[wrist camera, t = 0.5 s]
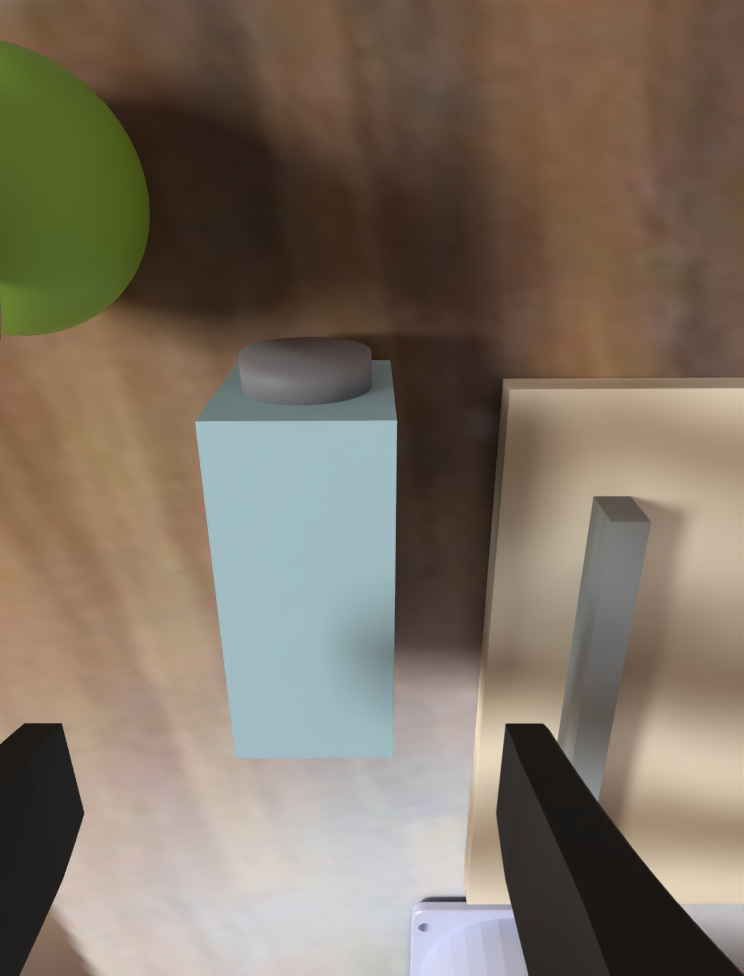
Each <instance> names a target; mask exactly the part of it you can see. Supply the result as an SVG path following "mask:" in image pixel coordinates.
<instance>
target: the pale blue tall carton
mask: <svg viewBox="0 0 744 976" xmlns="http://www.w3.org/2000/svg"><path fill="white" fill-rule="evenodd" d="M238 357H239V361H238V363H237V364H236V365H235V367H234V368H233V369H232V371H231V372H230V374H229V375H228V376H227V378H226V379H225V381H224V382H223V383H222V385H221V386H220V388H219V389H218V390H217V392H216V393H215V394H214V396H213V397H212V399H211V400H210V401H209V403H208V404H207V406H206V407H205V408H204V410H203V411H202V413H201V414H200V415H199V417H198V418H197V419H196V421H195V425H196V433H197V442H198V450H199V458H200V467H201V475H202V483H203V492H204V500H205V508H206V516H207V525H208V533H209V541H210V550H211V558H212V566H213V575H214V583H215V591H216V600H217V608H218V616H219V625H220V633H221V641H222V649H223V658H224V666H225V674H226V683H227V691H228V699H229V708H230V716H231V724H232V733H233V741H234V749H235V758H329V757H393V717H394V632H395V547H396V462H397V416H396V407H395V398H394V388H393V379H392V370H391V361H390V360H371V349H370V347H368V346H367V345H365V344H362V343H359V342H356V341H351V340H346V339H338V338H326V337H298V338H284V339H276V340H269V341H264V342H259V343H256V344H252V345H249V346H247V347H245V348H243V349H241V350H240V351H239V353H238Z"/></svg>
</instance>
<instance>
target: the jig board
mask: <svg viewBox="0 0 744 976" xmlns="http://www.w3.org/2000/svg"><path fill="white" fill-rule="evenodd" d="M506 723H543V724H544V725H545V726H546V727H548V728H549V730H550V731H551V733H552V734H553V736H554V738H555V739H556V741H557V742H558V744H559V745H560V747H561V749H562V750H563V752H564V753H565V755H566V756H567V758H568V759H569V761H570V762H571V764H572V765H573V767H574V768H575V770H576V771H577V773H578V774H579V776H580V777H581V778H582V780H583V781H584V783H585V784H586V786H587V787H588V788H589V790H590V791H591V793H592V794H593V796H594V797H595V798H596V800H597V801H598V802H599V804H600V805H601V807H602V808H603V809H604V811H605V812H606V813H607V815H608V816H609V817H610V819H611V820H612V821H613V823H614V824H615V825H616V827H617V828H618V829H619V831H620V832H621V833H622V834H623V836H624V837H625V838H626V840H627V841H628V842H629V844H630V845H631V846H632V848H633V849H634V850H635V851H636V853H637V854H638V855H639V856H640V858H641V859H642V860H643V861H644V863H645V864H646V865H647V866H648V868H649V869H650V870H651V871H652V873H653V874H654V875H655V876H656V877H657V879H658V880H659V881H660V882H661V883H662V884H663V886H664V887H665V888H666V889H667V890H668V892H669V893H670V894H671V895H672V896H673V898H674V899H675V900H676V901H677V902H678V903H679V904H744V378H539V379H503V386H502V399H501V412H500V425H499V437H498V450H497V463H496V475H495V488H494V501H493V513H492V526H491V539H490V552H489V564H488V577H487V590H486V602H485V615H484V628H483V640H482V653H481V666H480V678H479V691H478V704H477V717H476V729H475V742H474V755H473V767H472V780H471V793H470V805H469V818H468V831H467V844H466V856H465V869H464V886H465V893H466V901H467V904H511V902H510V898H509V894H508V889H507V885H506V881H505V875H504V868H503V861H502V855H501V848H500V840H499V833H498V825H497V818H496V808H497V798H498V789H499V780H500V770H501V761H502V752H503V742H504V733H505V724H506Z"/></svg>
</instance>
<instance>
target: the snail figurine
mask: <svg viewBox="0 0 744 976" xmlns="http://www.w3.org/2000/svg"><path fill="white" fill-rule="evenodd" d="M149 224H150V205H149V195H148V189H147V184H146V180H145V176H144V172H143V169H142V166H141V163H140V160H139V158H138V155H137V153H136V151H135V148H134V146H133V144H132V142H131V140H130V138H129V137H128V135H127V133H126V131H125V130H124V128H123V127H122V125H121V124H120V122H119V121H118V119H117V118H116V116H115V115H114V114H113V112H112V111H111V110H110V109H109V107H108V106H107V105H106V104H105V103H104V102H103V101H102V99H101V98H100V97H99V96H98V95H97V94H96V93H95V92H94V91H93V90H92V89H91V88H89V87H88V86H87V85H86V84H85V83H84V82H83V81H82V80H80V79H79V78H78V77H77V76H75V75H74V74H73V73H71V72H70V71H68V70H67V69H66V68H64V67H62V66H61V65H59V64H58V63H56V62H54V61H53V60H51V59H49V58H47V57H45V56H43V55H41V54H39V53H37V52H35V51H33V50H30V49H28V48H25V47H23V46H20V45H17V44H14V43H10V42H7V41H3V40H0V338H1V334H7V335H40V334H48V333H53V332H58V331H62V330H65V329H68V328H71V327H74V326H76V325H79V324H81V323H83V322H85V321H87V320H89V319H91V318H93V317H94V316H96V315H98V314H99V313H101V312H102V311H103V310H105V309H106V308H107V307H108V306H110V305H111V304H112V303H113V302H114V301H115V300H116V299H117V298H118V297H119V296H120V295H121V294H122V292H123V291H124V290H125V289H126V287H127V286H128V285H129V283H130V282H131V280H132V279H133V277H134V275H135V273H136V271H137V270H138V267H139V265H140V263H141V260H142V258H143V255H144V252H145V248H146V244H147V239H148V233H149Z"/></svg>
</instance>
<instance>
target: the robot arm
mask: <svg viewBox="0 0 744 976" xmlns="http://www.w3.org/2000/svg"><path fill="white" fill-rule="evenodd" d="M83 816H84V810H83V806H82V802H81V798H80V794H79V790H78V786H77V782H76V778H75V774H74V770H73V766H72V762H71V758H70V754H69V750H68V746H67V742H66V738H65V734H64V730H63V726H62V723H24V724H23V725H22V726H21V727H20V728H18V729H17V730H16V731H15V732H14V733H13V734H11V735H10V736H9V737H8V738H7V739H6V740H5V741H3V742H2V743H1V744H0V976H19V975H20V973H21V971H22V969H23V966H24V964H25V962H26V960H27V958H28V956H29V953H30V951H31V949H32V947H33V945H34V943H35V940H36V938H37V936H38V934H39V932H40V929H41V927H42V925H43V923H44V921H45V918H46V916H47V914H48V912H49V909H50V907H51V905H52V903H53V901H54V898H55V896H56V894H57V892H58V889H59V887H60V885H61V882H62V880H63V877H64V875H65V872H66V869H67V866H68V863H69V860H70V857H71V854H72V851H73V848H74V845H75V842H76V838H77V835H78V832H79V829H80V826H81V822H82V819H83ZM496 818H497V825H498V833H499V840H500V848H501V855H502V861H503V868H504V875H505V881H506V885H507V889H508V894H509V898H510V902H511V904H467V902H421V903H418V904H416V905H415V906H414V907H413V909H412V925H411V957H410V976H744V974H743V973H742V972H741V971H740V970H739V969H738V968H737V967H736V966H735V965H734V964H733V963H732V962H731V961H730V960H729V958H728V957H727V956H726V955H725V954H724V953H723V952H722V951H721V950H720V949H719V948H718V947H717V946H716V945H715V944H714V943H713V941H712V940H711V939H710V938H709V937H708V936H707V935H706V934H705V933H704V932H703V931H702V929H701V928H700V927H699V926H698V925H697V924H696V923H695V922H694V921H693V919H692V918H691V917H690V916H689V915H688V914H687V913H686V911H685V910H684V909H683V908H682V907H681V906H680V905H679V903H678V902H677V901H676V900H675V899H674V898H673V896H672V895H671V894H670V893H669V892H668V890H667V889H666V888H665V887H664V886H663V884H662V883H661V882H660V881H659V880H658V879H657V877H656V876H655V875H654V874H653V873H652V871H651V870H650V869H649V868H648V866H647V865H646V864H645V863H644V861H643V860H642V859H641V858H640V856H639V855H638V854H637V853H636V851H635V850H634V849H633V848H632V846H631V845H630V844H629V842H628V841H627V840H626V838H625V837H624V836H623V834H622V833H621V832H620V831H619V829H618V828H617V827H616V825H615V824H614V823H613V821H612V820H611V819H610V817H609V816H608V815H607V813H606V812H605V811H604V809H603V808H602V807H601V805H600V804H599V802H598V801H597V800H596V798H595V797H594V796H593V794H592V793H591V791H590V790H589V788H588V787H587V786H586V784H585V783H584V781H583V780H582V778H581V777H580V776H579V774H578V773H577V771H576V770H575V768H574V767H573V765H572V764H571V762H570V761H569V759H568V758H567V756H566V755H565V753H564V752H563V750H562V749H561V747H560V745H559V744H558V742H557V741H556V739H555V738H554V736H553V734H552V733H551V731H550V730H549V728H548V727H546V726H545V725H544V724H543V723H506V724H505V733H504V742H503V752H502V761H501V770H500V780H499V789H498V798H497V808H496Z"/></svg>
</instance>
